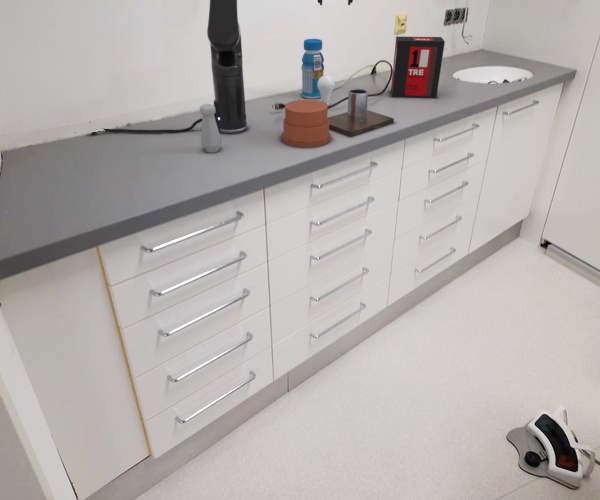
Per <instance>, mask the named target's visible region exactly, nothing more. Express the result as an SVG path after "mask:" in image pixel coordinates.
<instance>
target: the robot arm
mask: <svg viewBox="0 0 600 500" xmlns="http://www.w3.org/2000/svg"><path fill="white" fill-rule="evenodd" d="M353 1H354V0H347V5H348V6H351V4H352V3H353ZM317 3H318V4H319V6H323V0H317ZM206 33H207V39H208V41H209V44H210V45H209V46H210V55H211V56H210V57H211V59H210V60H211V63H210V64H211V65H210V66H211V75H212V83H213V93H214V94H213V95H214V99H213V105H214V106H215V110H216V112H215V114H214V117H215V120H216V124H217V127H218V130H219V133H223V134H238V133H241V132H244V131H247V129H248V124H247V123H248V122H247V118H248V117H247V112H246V111H247V109H246V95H245V94H246V93H245V82H244V67H243V48H242V34H241V33H242V31H241V25H240V23H239V15H238V0H209V11H208V20H207V29H206ZM200 123H202V117H201V118H199V119H197V120H195V121H194V122H193V123H192V124H191V125H190V126H189V127H186V128H181V129H131V128H129V129H128V128H103V129H104V130H105V131H98V132H93V131H92V132H91V133H90V136H95V135H96V134H97V133H101V132H103V133H104V132H105V133H138V134H139V133H140V134H141V133H142V134H146V133H147V134H152V133H153V134H154V133H155V134H157V133H158V134H159V133H160V134H161V133H174V134H175V133H185V132H188V131H192V130H193V129H194V128H195V127H196V126H197V125H198V124H200Z"/></svg>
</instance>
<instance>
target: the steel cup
mask: <svg viewBox="0 0 600 500" xmlns="http://www.w3.org/2000/svg"><path fill="white" fill-rule="evenodd" d="M347 96H348V99H347V112H348V116H347V117H348V118H347V119H348V120H349V121H351V122H363V121H365V120H366V113H367V110H368V100H369V99H368V97H369V91H368V89H367V90H366V89H364V88H351V89H349V90H348V95H347Z"/></svg>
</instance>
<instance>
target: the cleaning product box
mask: <svg viewBox="0 0 600 500" xmlns="http://www.w3.org/2000/svg"><path fill="white" fill-rule="evenodd" d="M445 43H446V41H445V40H444V38H443V37H442V36H395V46H394V54H393V55H394V56H393V65H392V75H391V85H390V93H391V97H392V98H407V99H409V98H411V99H437V96H438V89H439V83H440V78H441V77H440V76H441V71H442V70H441V69H442V63H443V57H444V50H445Z"/></svg>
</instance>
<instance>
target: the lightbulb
mask: <svg viewBox="0 0 600 500" xmlns="http://www.w3.org/2000/svg"><path fill="white" fill-rule="evenodd" d="M317 86H318V89H319V91H320V93H321V97H320V99H321V102H324V103H326V104H327V105H328V107H329V106H330V100H331V95H332V93H333V91H334V89H335V86H336V84H335V80H334V78H333V77H332V76H330V75H327V74H325V75H323V76H322V77H321V78H320V79H319V80H318V84H317Z"/></svg>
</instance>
